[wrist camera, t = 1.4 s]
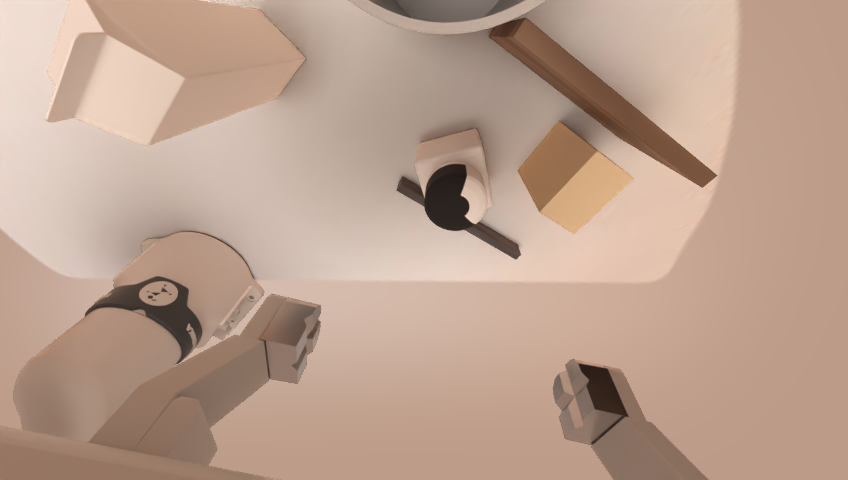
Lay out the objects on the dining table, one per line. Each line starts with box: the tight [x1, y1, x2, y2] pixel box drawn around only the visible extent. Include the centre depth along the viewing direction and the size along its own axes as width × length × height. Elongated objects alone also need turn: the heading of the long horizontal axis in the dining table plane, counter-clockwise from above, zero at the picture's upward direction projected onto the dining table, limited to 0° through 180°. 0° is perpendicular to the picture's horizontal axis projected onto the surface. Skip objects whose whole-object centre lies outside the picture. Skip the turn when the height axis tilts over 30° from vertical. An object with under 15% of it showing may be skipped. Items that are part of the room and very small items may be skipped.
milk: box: [45, 0, 306, 146], centre depth 25 cm, size 6×6×22 cm
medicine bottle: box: [414, 129, 493, 231], centre depth 34 cm, size 7×7×12 cm
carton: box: [518, 122, 634, 234], centre depth 34 cm, size 5×7×11 cm
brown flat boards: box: [397, 18, 717, 259], centre depth 33 cm, size 20×19×14 cm
